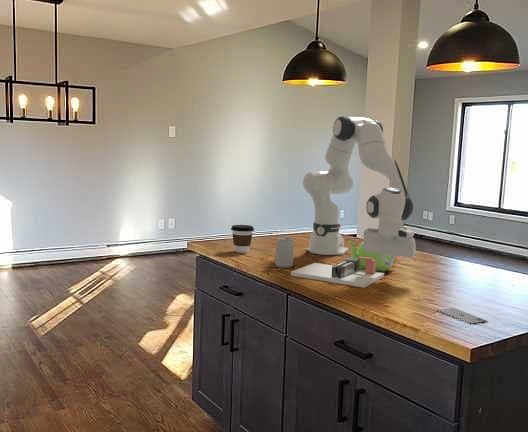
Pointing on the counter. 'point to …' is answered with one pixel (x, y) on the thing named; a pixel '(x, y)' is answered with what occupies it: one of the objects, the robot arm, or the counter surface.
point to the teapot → (375, 256)
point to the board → (325, 274)
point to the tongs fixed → (348, 267)
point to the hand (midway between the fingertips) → (387, 265)
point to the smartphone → (462, 315)
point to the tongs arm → (334, 268)
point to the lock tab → (369, 264)
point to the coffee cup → (242, 237)
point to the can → (284, 252)
